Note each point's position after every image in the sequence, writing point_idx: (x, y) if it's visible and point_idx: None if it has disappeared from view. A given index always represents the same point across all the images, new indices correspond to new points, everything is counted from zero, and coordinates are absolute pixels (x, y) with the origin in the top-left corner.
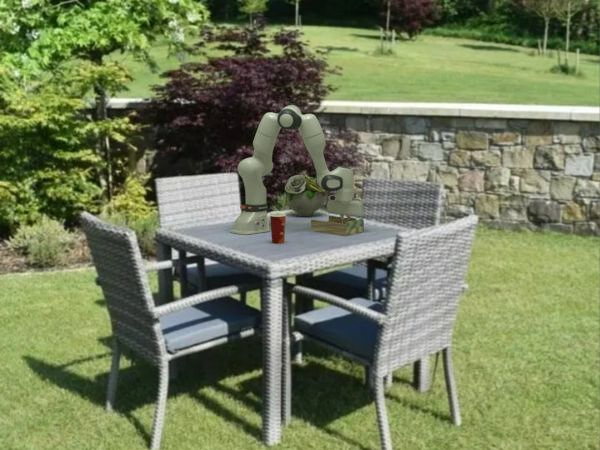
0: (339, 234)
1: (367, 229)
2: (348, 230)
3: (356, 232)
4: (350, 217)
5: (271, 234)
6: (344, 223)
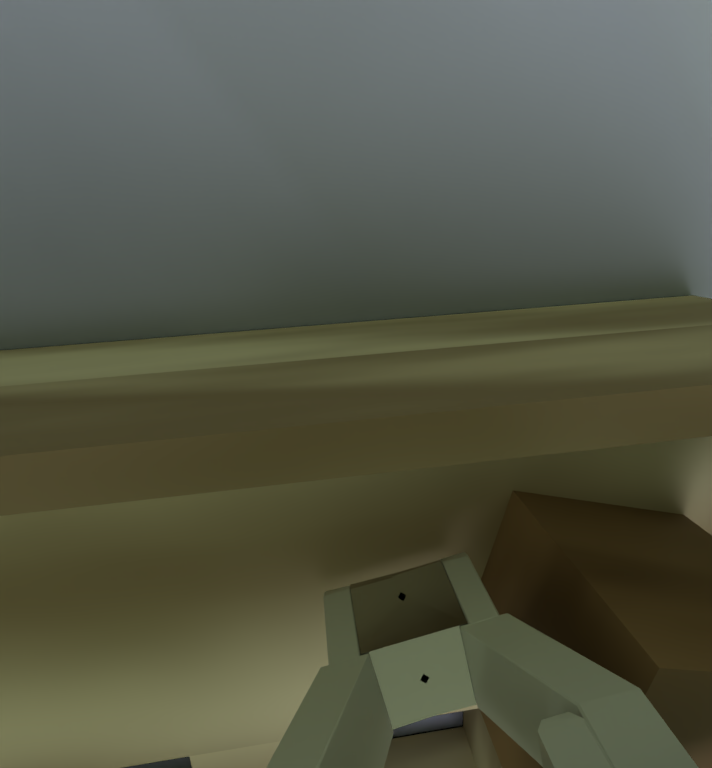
0: None
1: (652, 13)
2: None
3: None
4: (661, 690)
5: None
6: None
